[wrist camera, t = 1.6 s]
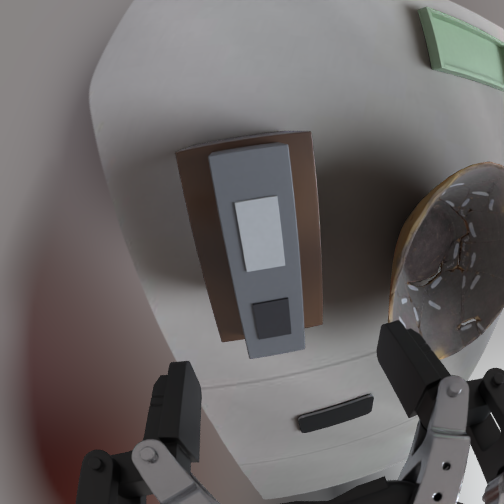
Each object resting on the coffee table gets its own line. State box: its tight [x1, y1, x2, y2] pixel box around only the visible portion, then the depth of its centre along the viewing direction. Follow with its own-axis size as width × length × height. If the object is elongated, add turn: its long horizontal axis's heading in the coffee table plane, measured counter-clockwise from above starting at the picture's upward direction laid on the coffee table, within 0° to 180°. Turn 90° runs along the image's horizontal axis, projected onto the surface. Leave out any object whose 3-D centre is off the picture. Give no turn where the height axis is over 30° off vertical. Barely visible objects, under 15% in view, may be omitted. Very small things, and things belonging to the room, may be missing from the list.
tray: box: [418, 7, 504, 91], centre depth 19 cm, size 19×9×2 cm, turn 98°
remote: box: [208, 142, 305, 359], centre depth 19 cm, size 15×4×3 cm, turn 8°
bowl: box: [388, 162, 504, 360], centre depth 27 cm, size 25×25×10 cm
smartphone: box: [298, 395, 374, 433], centre depth 45 cm, size 7×1×15 cm
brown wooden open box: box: [175, 131, 323, 342], centre depth 24 cm, size 16×9×9 cm, turn 8°
